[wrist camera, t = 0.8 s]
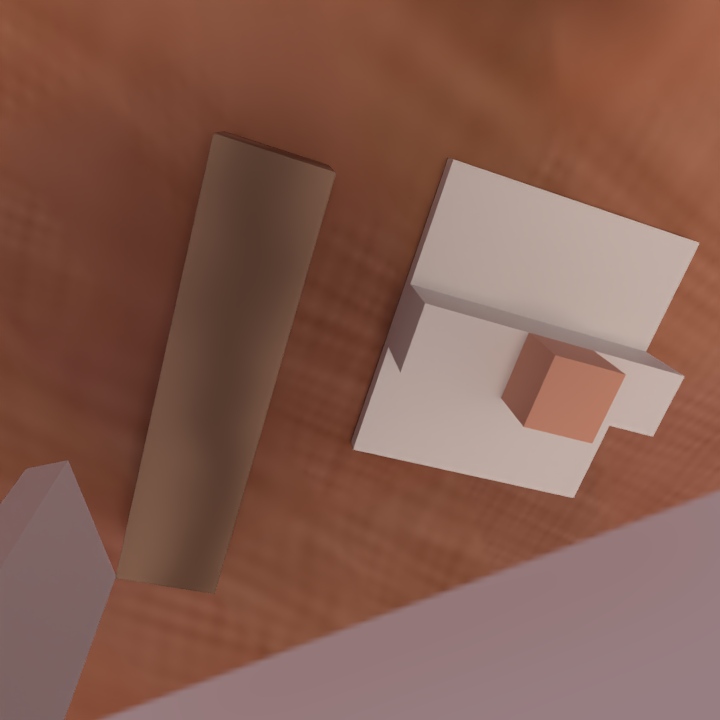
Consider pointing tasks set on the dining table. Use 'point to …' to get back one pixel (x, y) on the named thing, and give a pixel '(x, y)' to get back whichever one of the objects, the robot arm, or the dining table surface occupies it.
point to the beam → (222, 358)
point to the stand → (522, 335)
